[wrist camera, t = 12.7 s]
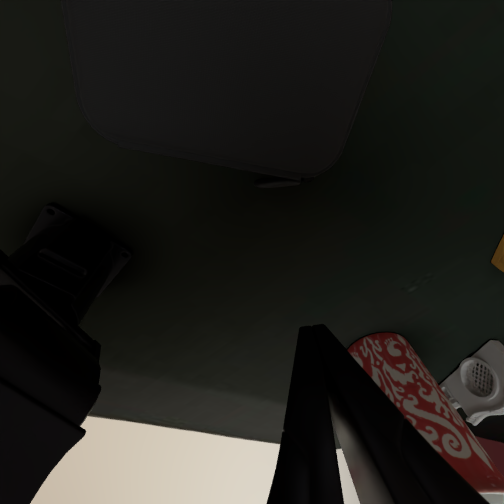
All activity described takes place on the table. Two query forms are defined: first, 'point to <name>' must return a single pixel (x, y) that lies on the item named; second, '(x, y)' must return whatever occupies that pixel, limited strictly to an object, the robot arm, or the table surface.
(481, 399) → the garden wall model
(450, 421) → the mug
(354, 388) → the robot arm
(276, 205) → the table surface
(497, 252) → the tote
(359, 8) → the carrying case
